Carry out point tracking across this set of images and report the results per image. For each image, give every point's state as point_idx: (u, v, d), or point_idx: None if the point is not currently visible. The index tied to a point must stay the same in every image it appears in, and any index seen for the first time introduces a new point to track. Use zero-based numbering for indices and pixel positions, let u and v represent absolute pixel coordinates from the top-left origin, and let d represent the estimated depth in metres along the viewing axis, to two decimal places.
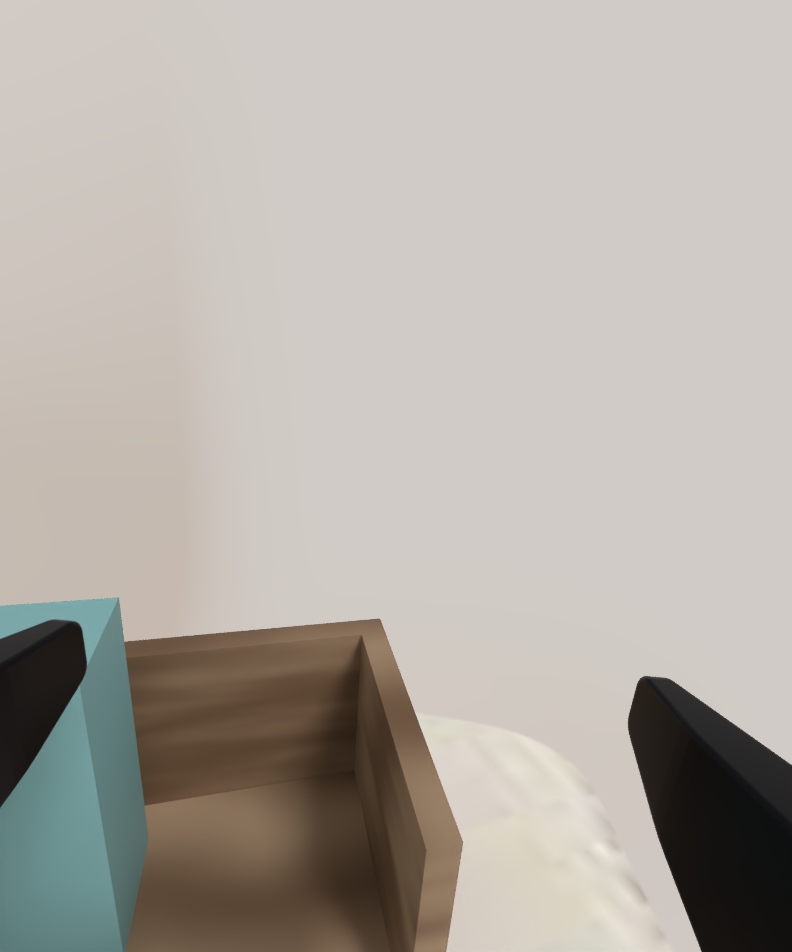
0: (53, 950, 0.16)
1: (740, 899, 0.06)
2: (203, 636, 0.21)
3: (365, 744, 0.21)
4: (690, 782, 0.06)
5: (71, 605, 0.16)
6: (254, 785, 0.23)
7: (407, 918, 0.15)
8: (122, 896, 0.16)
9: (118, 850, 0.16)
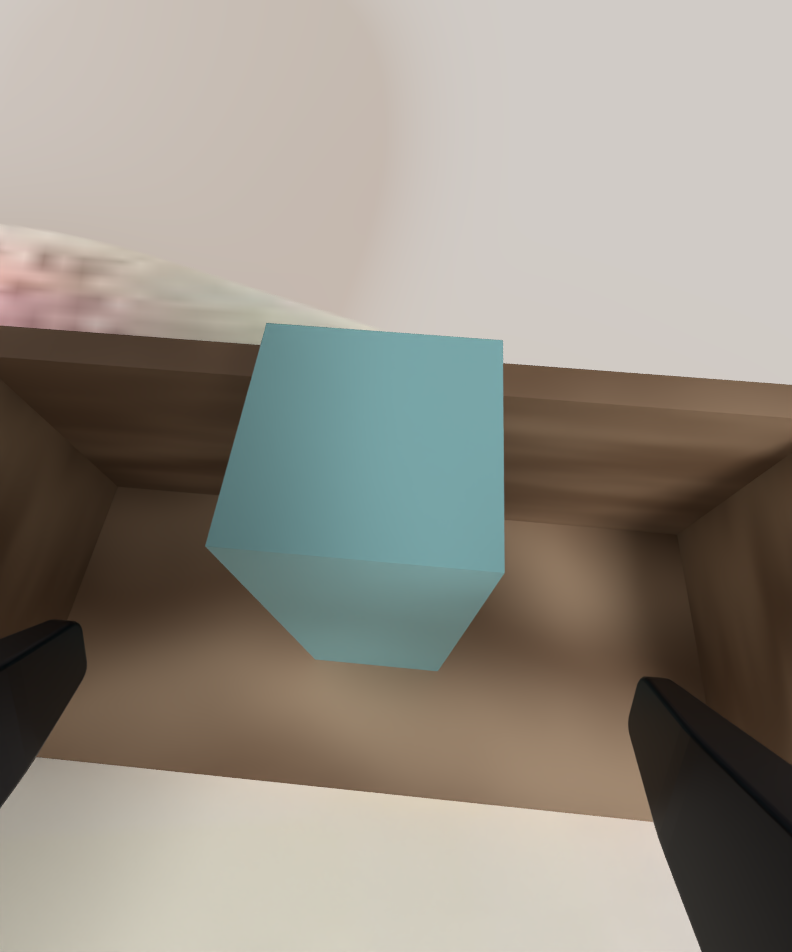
0: (379, 661, 0.15)
1: (740, 899, 0.06)
2: (562, 370, 0.13)
3: (747, 550, 0.15)
4: (690, 782, 0.06)
5: (425, 347, 0.08)
6: (553, 521, 0.19)
7: None
8: None
9: None
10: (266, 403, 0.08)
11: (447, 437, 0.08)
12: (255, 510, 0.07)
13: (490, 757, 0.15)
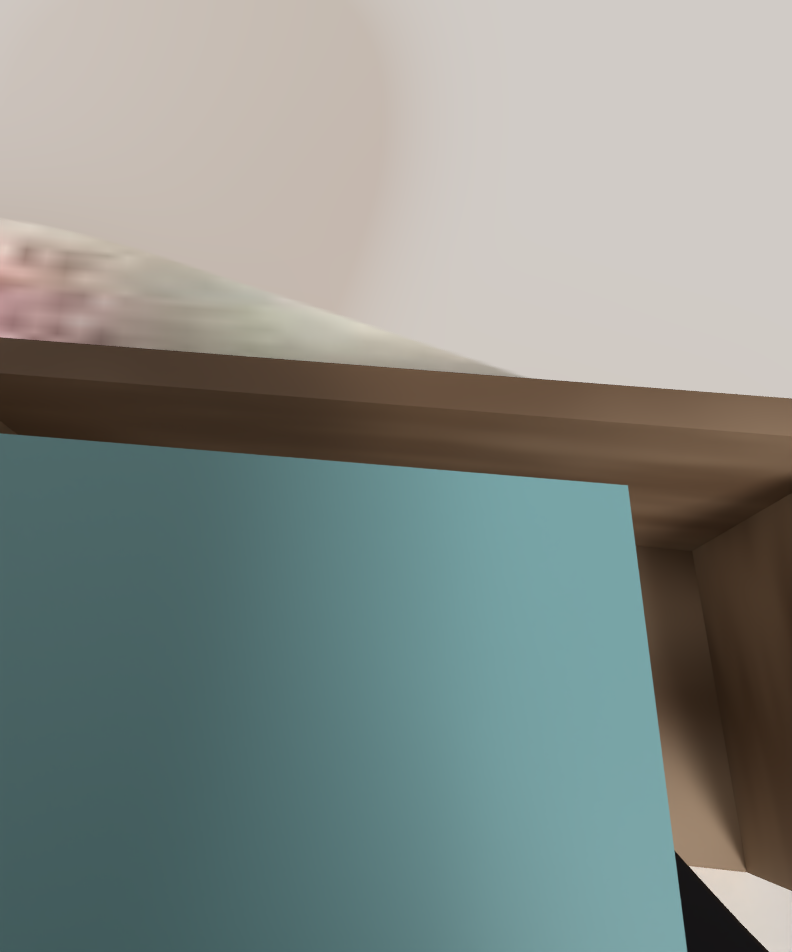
0: None
1: None
2: (575, 384, 0.12)
3: (771, 575, 0.14)
4: None
5: (414, 511, 0.03)
6: None
7: None
8: None
9: None
10: None
11: (485, 879, 0.02)
12: None
13: None
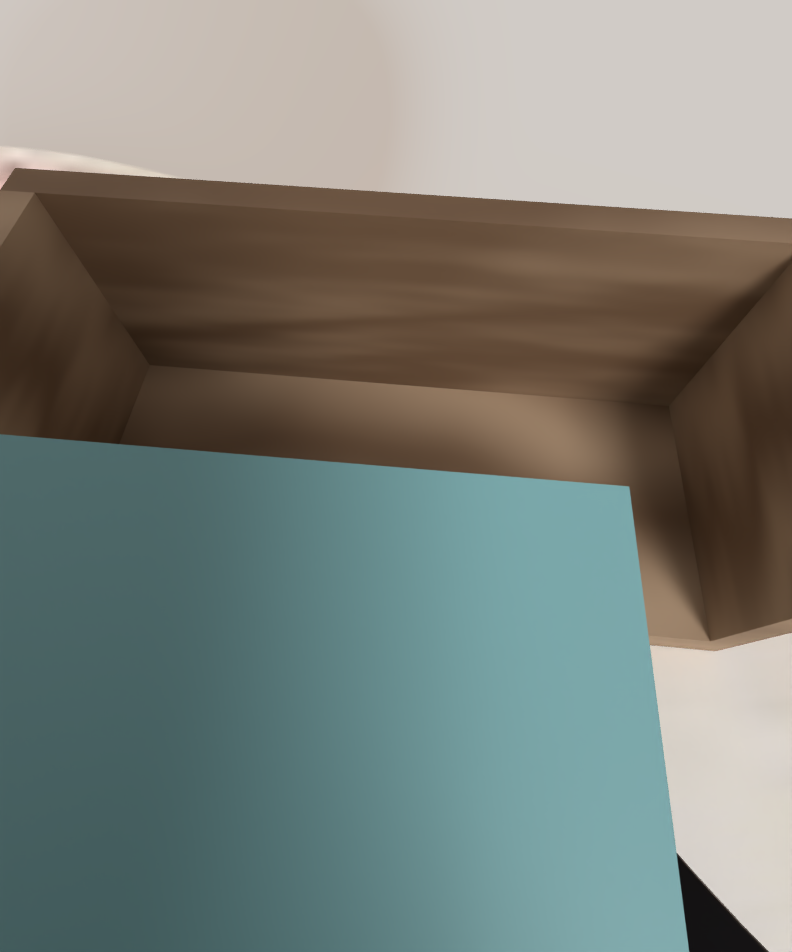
0: None
1: None
2: (563, 206, 0.14)
3: (730, 391, 0.16)
4: None
5: (413, 511, 0.03)
6: (554, 394, 0.20)
7: (782, 590, 0.13)
8: None
9: None
10: None
11: (486, 885, 0.02)
12: None
13: None
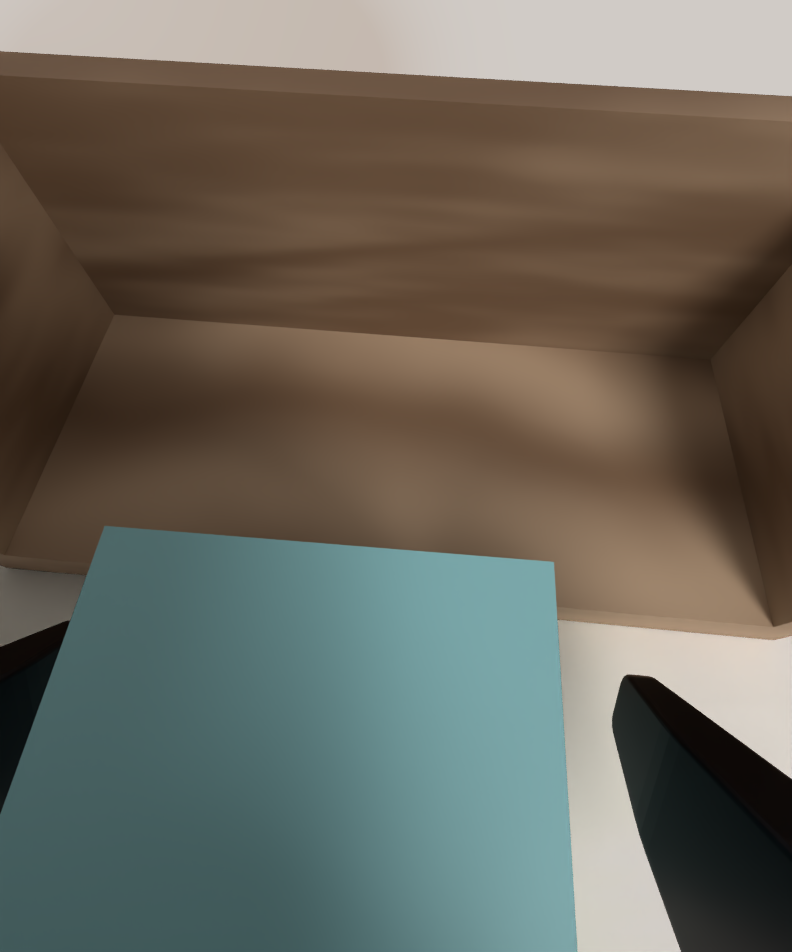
0: None
1: (716, 896, 0.06)
2: (601, 90, 0.12)
3: None
4: (670, 780, 0.06)
5: (405, 582, 0.04)
6: (578, 346, 0.18)
7: None
8: None
9: None
10: (75, 733, 0.04)
11: (450, 827, 0.04)
12: None
13: None
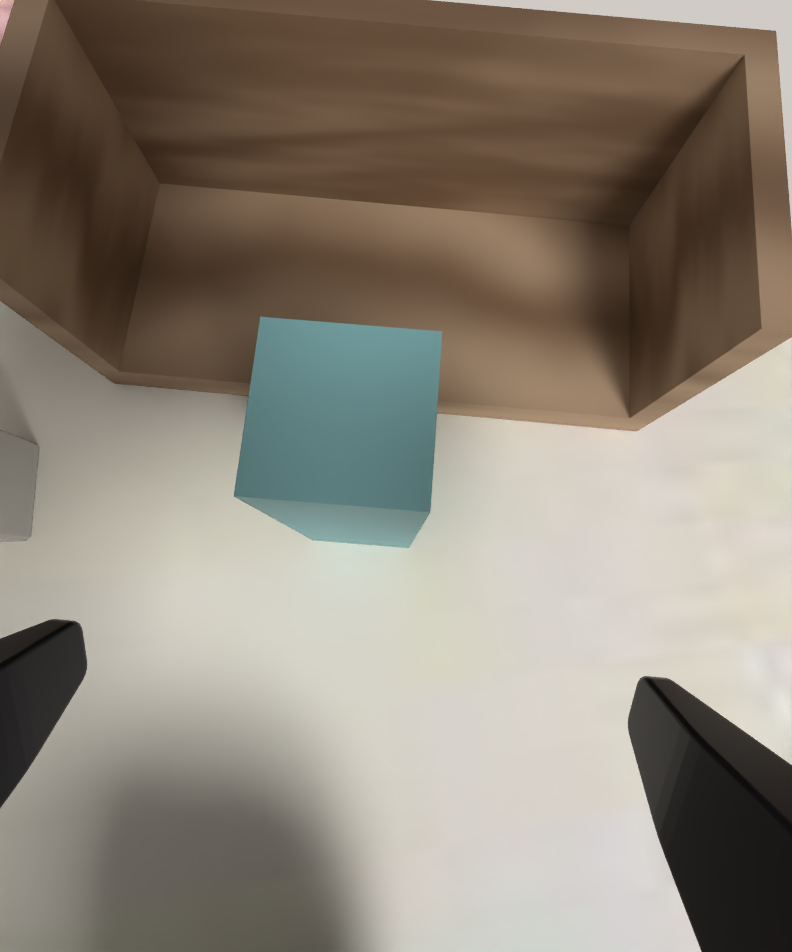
0: (362, 542, 0.20)
1: (740, 899, 0.05)
2: (535, 13, 0.16)
3: (672, 204, 0.19)
4: (690, 782, 0.06)
5: (383, 338, 0.11)
6: (528, 214, 0.23)
7: (678, 364, 0.17)
8: None
9: None
10: (265, 388, 0.11)
11: (396, 414, 0.11)
12: (265, 471, 0.10)
13: (465, 375, 0.21)
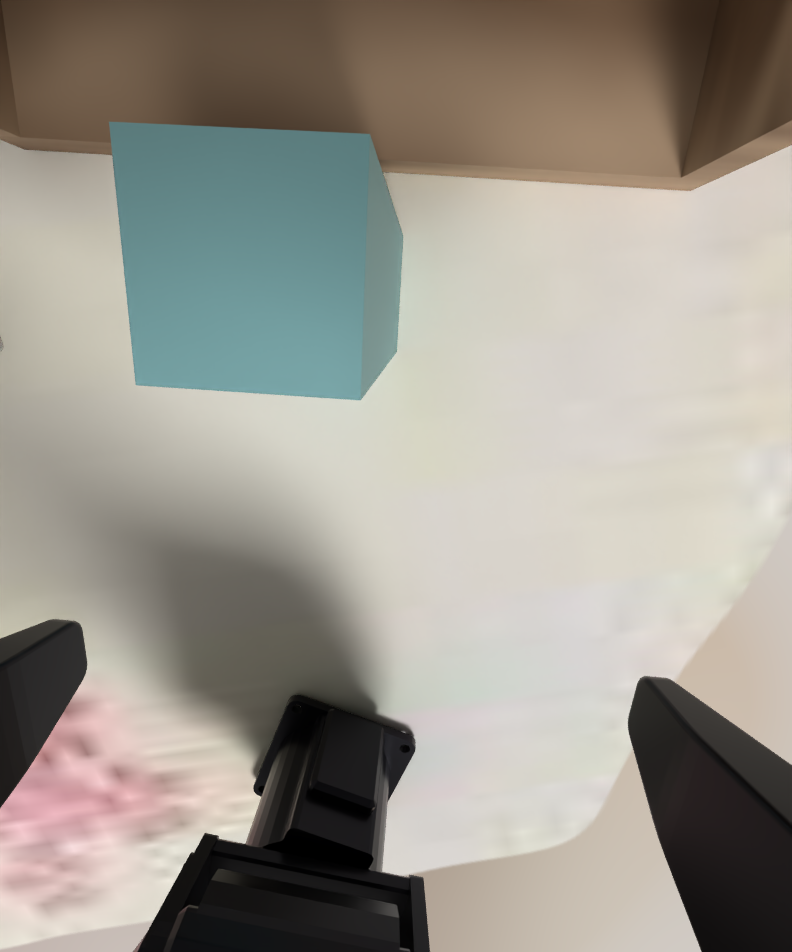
0: None
1: (740, 899, 0.06)
2: None
3: None
4: (690, 782, 0.06)
5: (285, 151, 0.08)
6: None
7: (761, 104, 0.12)
8: (394, 337, 0.17)
9: (391, 331, 0.15)
10: (141, 240, 0.08)
11: (313, 274, 0.08)
12: (164, 354, 0.09)
13: (465, 119, 0.16)
